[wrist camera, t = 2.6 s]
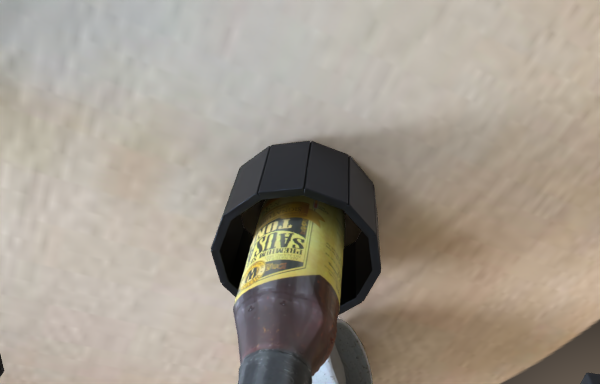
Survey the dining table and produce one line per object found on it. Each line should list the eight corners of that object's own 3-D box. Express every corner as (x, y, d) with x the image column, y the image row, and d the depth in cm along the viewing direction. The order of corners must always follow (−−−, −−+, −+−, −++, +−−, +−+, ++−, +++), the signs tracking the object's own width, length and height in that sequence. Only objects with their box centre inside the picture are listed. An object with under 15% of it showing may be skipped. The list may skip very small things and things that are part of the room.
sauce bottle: (308, 154, 40) (276, 377, 23) (362, 211, 42) (369, 453, 25) (243, 202, 42) (172, 434, 26) (298, 254, 45) (265, 499, 28)
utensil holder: (293, 284, 46) (285, 343, 41) (201, 194, 42) (179, 246, 37) (404, 220, 42) (412, 275, 37) (314, 113, 38) (307, 157, 33)
